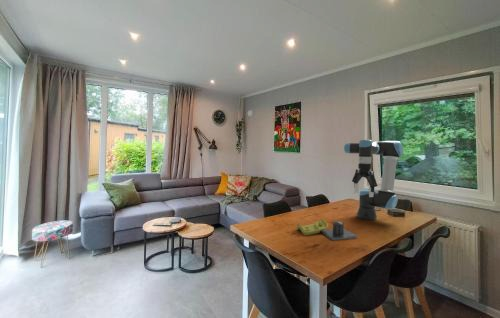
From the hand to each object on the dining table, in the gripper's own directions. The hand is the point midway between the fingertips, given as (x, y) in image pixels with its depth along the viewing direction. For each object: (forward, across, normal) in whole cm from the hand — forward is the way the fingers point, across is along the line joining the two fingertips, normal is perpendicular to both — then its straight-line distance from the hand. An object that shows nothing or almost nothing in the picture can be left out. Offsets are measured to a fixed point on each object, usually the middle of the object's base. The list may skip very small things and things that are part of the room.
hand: (363, 194), depth 152 cm
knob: (+25, -1, -18) cm, 31 cm away
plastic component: (+27, -10, -31) cm, 42 cm away
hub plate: (+26, -1, -18) cm, 32 cm away
